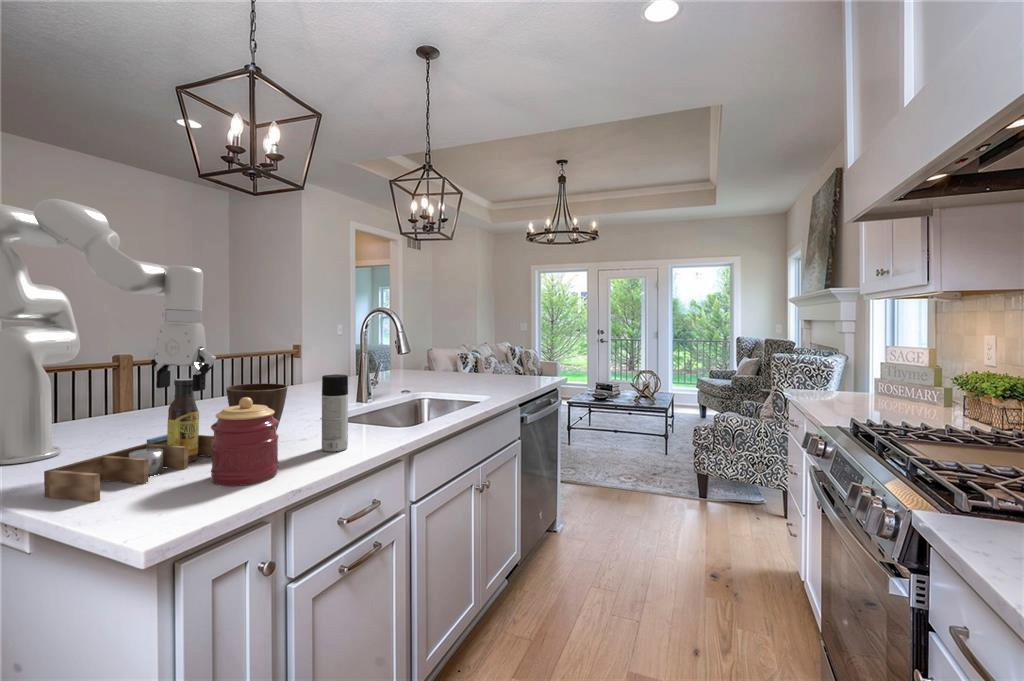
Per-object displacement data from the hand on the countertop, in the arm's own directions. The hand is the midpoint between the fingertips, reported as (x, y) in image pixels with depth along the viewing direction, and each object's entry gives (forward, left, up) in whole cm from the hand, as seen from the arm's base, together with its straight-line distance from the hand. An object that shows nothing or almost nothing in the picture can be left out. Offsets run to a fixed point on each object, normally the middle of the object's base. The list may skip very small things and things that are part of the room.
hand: (180, 388), depth 114 cm
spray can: (+30, +18, -18) cm, 39 cm away
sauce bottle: (0, 0, -18) cm, 18 cm away
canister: (+23, -7, -18) cm, 30 cm away
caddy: (+1, -10, -18) cm, 20 cm away
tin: (+1, -10, -18) cm, 20 cm away
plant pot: (+7, +18, -18) cm, 26 cm away
